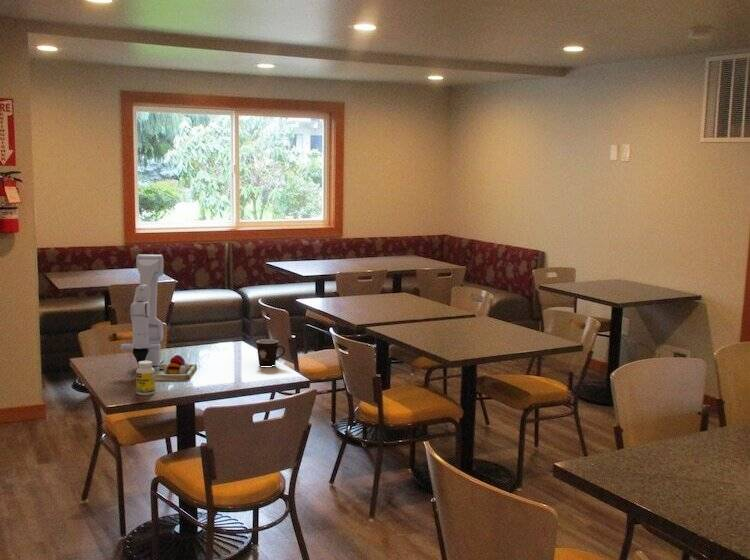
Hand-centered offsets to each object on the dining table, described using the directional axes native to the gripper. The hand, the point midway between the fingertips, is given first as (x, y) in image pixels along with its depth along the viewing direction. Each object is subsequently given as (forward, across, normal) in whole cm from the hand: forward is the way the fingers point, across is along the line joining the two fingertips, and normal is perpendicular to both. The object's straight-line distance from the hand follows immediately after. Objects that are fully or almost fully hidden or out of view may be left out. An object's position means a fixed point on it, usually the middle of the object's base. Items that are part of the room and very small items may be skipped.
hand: (141, 368), depth 295 cm
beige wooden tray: (+2, +12, 0) cm, 12 cm away
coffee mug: (+3, +47, +14) cm, 49 cm away
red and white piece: (+3, +13, +1) cm, 13 cm away
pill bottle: (+3, +8, -26) cm, 27 cm away
